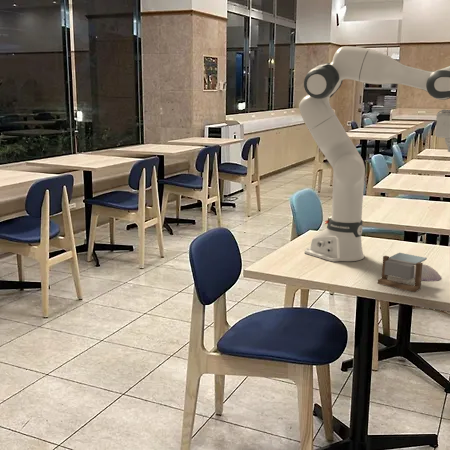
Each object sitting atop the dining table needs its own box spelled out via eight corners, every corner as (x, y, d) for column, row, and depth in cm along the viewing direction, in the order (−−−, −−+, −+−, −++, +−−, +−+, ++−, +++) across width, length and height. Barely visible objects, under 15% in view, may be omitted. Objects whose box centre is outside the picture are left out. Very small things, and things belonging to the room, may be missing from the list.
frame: (377, 283, 187) (379, 258, 185) (383, 280, 190) (385, 255, 188) (414, 292, 179) (417, 266, 177) (420, 288, 182) (422, 263, 180)
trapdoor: (383, 274, 185) (384, 259, 184) (398, 266, 194) (399, 252, 193) (411, 280, 179) (412, 265, 178) (425, 272, 188) (426, 257, 187)
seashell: (420, 261, 201) (446, 262, 193) (421, 277, 201) (447, 278, 193) (402, 266, 195) (428, 267, 187) (403, 282, 195) (430, 283, 187)
